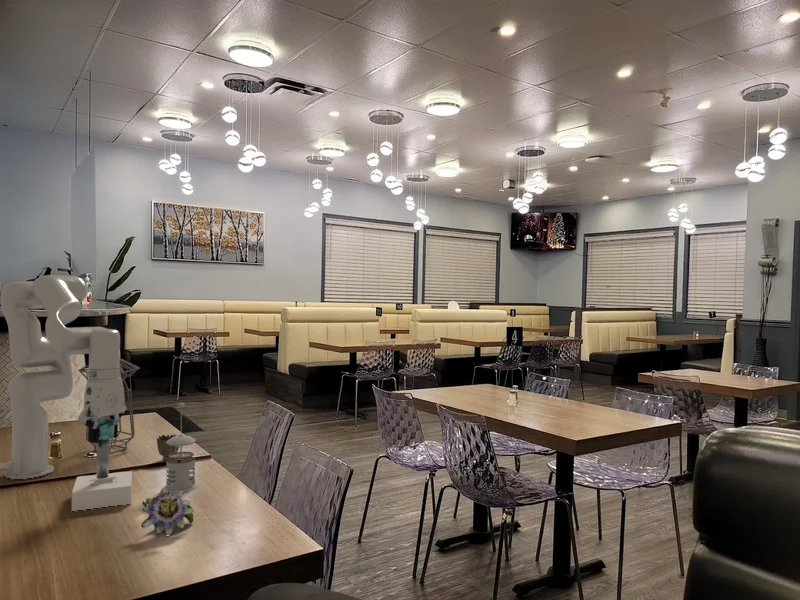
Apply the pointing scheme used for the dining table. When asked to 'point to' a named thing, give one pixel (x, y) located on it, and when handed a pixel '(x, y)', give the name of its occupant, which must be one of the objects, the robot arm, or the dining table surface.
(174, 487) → the french press
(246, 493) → the dining table surface
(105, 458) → the teal strapped cylinder
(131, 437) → the geometric lantern
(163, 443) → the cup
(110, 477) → the block
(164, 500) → the passion flower
